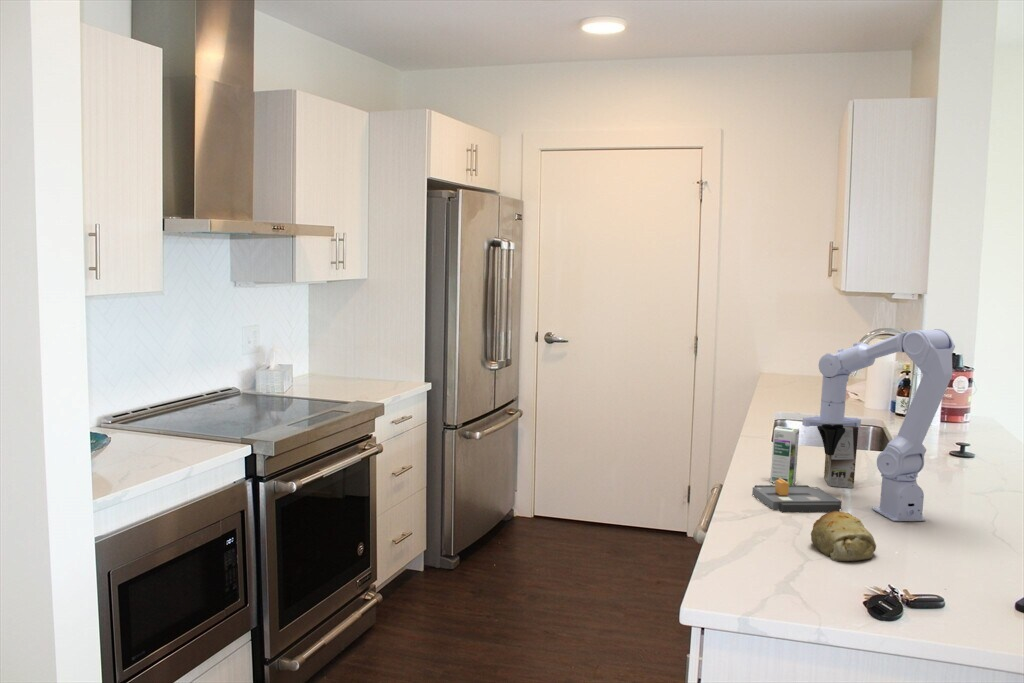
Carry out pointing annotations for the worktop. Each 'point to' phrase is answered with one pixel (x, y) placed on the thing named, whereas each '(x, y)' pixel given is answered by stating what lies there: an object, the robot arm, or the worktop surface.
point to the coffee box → (842, 460)
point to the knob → (781, 487)
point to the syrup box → (784, 454)
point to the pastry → (842, 537)
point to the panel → (793, 496)
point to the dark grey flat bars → (805, 504)
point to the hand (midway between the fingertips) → (829, 454)
